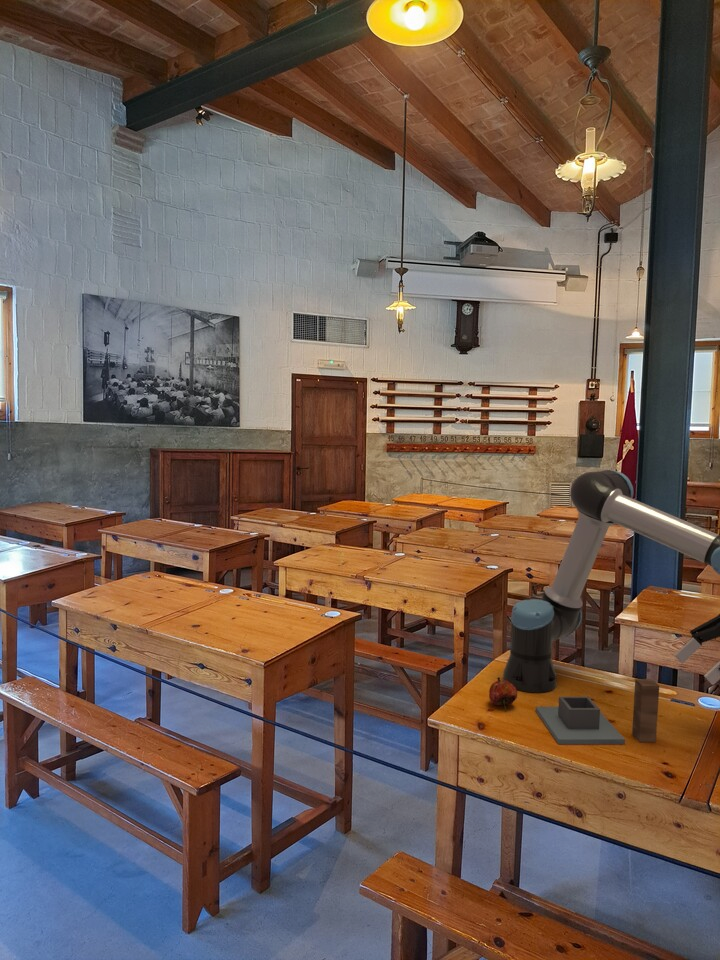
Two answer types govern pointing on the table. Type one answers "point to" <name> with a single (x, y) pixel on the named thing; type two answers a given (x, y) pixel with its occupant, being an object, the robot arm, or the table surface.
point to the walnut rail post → (645, 710)
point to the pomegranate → (502, 693)
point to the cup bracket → (578, 722)
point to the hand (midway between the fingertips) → (692, 669)
